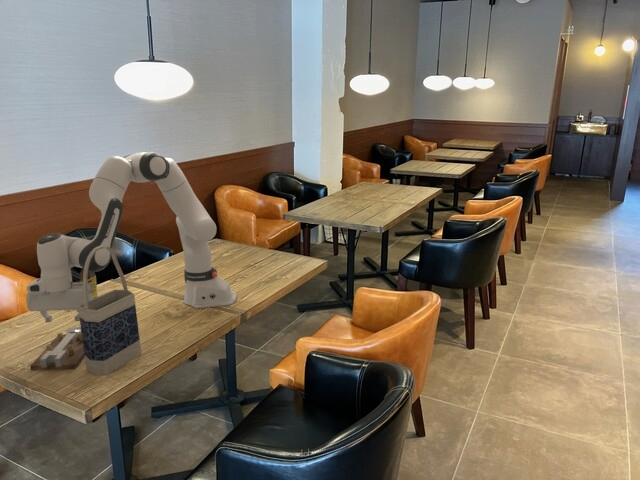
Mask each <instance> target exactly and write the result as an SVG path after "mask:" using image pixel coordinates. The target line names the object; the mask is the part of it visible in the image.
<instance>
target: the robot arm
mask: <svg viewBox="0 0 640 480" xmlns="http://www.w3.org/2000/svg"><path fill="white" fill-rule="evenodd" d="M148 182H155V183H156V184H157V186H158V189H159V190H160V192H161V194H162V196H163V197H164V199H165V201H166V203H167V204H168V206H169V208H170V209H171V210H172V212H173V213H174V214H175V215H176V217H175V224H176V225H177V228H178V232H179V238H180V242H181V245H182V249H183V257H184V260H183V261H184V270H183V275H184V276H183V278H184V283H185V289H184V297H183V303H184V304H185V305H188V306H191V307H193V308H195V309H204V307H205V308H212V307H222V306H230V305H231V306H232V305H233V304H235V302H236V300H237V297H238V296H237V293H236V292H235V291H234V290H232V289H231V285H230V283H229V282H228V281H227V280H225V279H223V278H221V277H220V276H218V271H217V268H216V267H215V268H214V267H213V265H212V251H211V248H210V246H209V241H211V240H212V239H214V238H215V236H216V234H217V232H218V231H217V229H218V228H217V225H216V223H215V221H214V220H213V219H212V218H211V216H210V214H209V213H208V212H207V210H206V208H205V207H204V205H203V204H202V202H201V201H200V200H199V199H198V197H197V196H196V193H195V192H194V190H193V188H192V187H191V184H190V183H189V181H188V179H187V177H186V176H185V174H184V172H183V171H182V169H181V168H180V167H179V165H178V164H177V162H176V161H175V160H174V159H172V158H171V157H164V156H163V155H162V154H161V153H159V152H156V151H147V152H146V151H145V152H143V151H142V152H136V153H133V154H128V155H125V156H123V157H122V156H118V155H112V156H110V157H107V159H106V160H105V161H104V162H103V164H102V165H101V166H100V168H99V170H98V171H97V173H96V175H95V176H94V179H93V180H92V182H91V184H90V186H89V191H88V195H89V196H88V197H89V198H90V202H91V203H92V204H93V205H94V206H95V207H96V208H98V209H99V210H100V212H101V218H100V221H99V224H98V227H97V231H96V232H95V233H96V234H95V236H94V237H93V239H85V238H81V237H76V236H74V237H73V236H68V235H65V234H63V233H61V232H52V233H48V234H47V233H46V234H45V235H42V236H41V237H40V238H39V239H38V241H37V244H36V256H37V261H38V267H40V278H36V279H34V280H33V281H32V282H30V283H29V284H28V285H27V286H26V291H27V294H26V295H25V296H26V297H25V298H26V299H25V301H26V308H27V310H29V311H30V312H40V315H41V316H42V317H43V318H44V319H45V320H44V321H45V323H52V321H53V316H52V315H49V313H48V311H52V312H53V311H70V310H71V311H72V310H73V311H74V310H76V312H77V313H78V314H75V315H74V321H75V322H80V318H79V311H78V305H80V304H83V303H84V298H83V282H80V281H73V276H72V270H71V269H72V268H74V267H76V268H81V269H82V268H84V266H85V262H86V259H87V257H88V255H89V254H90V252H91V251H92V250H93V249H94V248H96V247H98V246H106V247H104V249H100V250H97V251H96V252H95V254H94V255H93V257H92V258H91V261H90V263H89V268H88V270H89V271H92V272H94V273H99V272H101V271H102V270H104V269H105V268H106V267H108V265H109V264H110V262H111V259H112V256H111V254H110V252H109V251H108V250H107V249H105V248H107V247H110V248H111V249H113V245H114V242H115V238H116V237H117V236H116V235H117V232H118V230H119V227H120V223H121V220H122V216H123V212H124V205H123V199H124V196H125V193H126V191H127V189H128V186H129V184H130V183H132V184H133V183H139V184H140V183H148ZM91 291H92V290H91V285H90V284H88V283H87V292H88V301H90V300H92V299H93V296H92V293H91Z"/></svg>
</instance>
